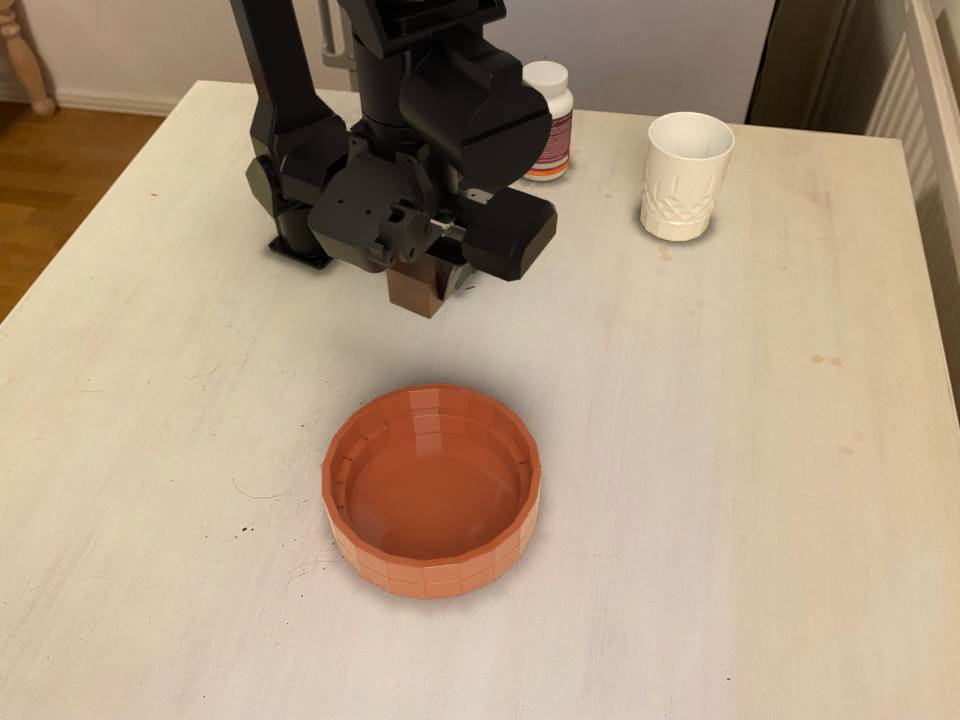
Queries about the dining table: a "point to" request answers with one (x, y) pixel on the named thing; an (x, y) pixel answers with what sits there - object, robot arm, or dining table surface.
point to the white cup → (683, 173)
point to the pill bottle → (560, 102)
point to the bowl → (432, 490)
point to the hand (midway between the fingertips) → (422, 288)
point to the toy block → (415, 285)
